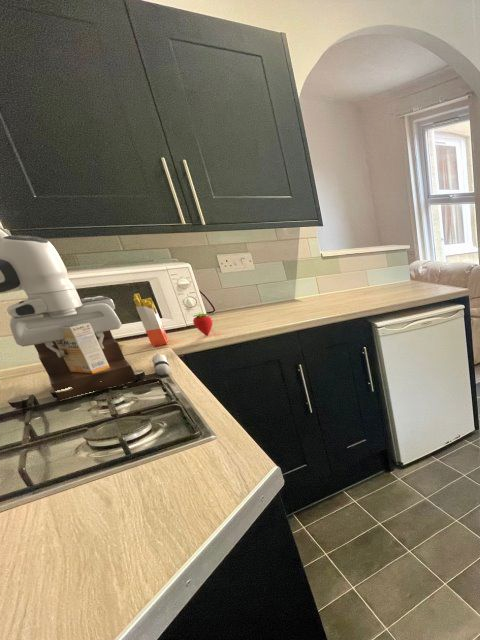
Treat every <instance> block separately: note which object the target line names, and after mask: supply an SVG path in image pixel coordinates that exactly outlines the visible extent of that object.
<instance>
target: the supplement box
mask: <svg viewBox="0 0 480 640" xmlns="http://www.w3.org/2000/svg"><path fill="white" fill-rule="evenodd" d="M61 330H62V332H63V335H64V337H65V339H62V340H57V341H55V342H56V344H57V346H58V348H59V350H60V349H63V350H64V353H65V354H66V356H65V357H63V358H64V360H65V362H66V364H67V365H68V367H69V369H70V371H71V372H81V373H92V374H93V373H96V372H99V371H102V370H105V369H108V368H110V366H109V364H108V362H107V360H106V358H105V356H104V354H103V351H102V349H101V347H100V345H99V343H98V340H97V338H96V336H95V334H94V332H93V329H92V327H91V325H90V323H83V324H75V325H68V326H63V327H61Z"/></svg>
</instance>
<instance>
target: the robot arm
mask: <svg viewBox="0 0 480 640" xmlns="http://www.w3.org/2000/svg"><path fill="white" fill-rule="evenodd" d="M18 291H24V293H25V294H26V296H27V298H26V299H24V300H21V301H18V302H16V303H14V304H11V305H9V306H8V307H7V308H6V312H7V313H8V316H10V319H9V327H10V331H11V334H12V337H13V339H14V342H15V343H16V345H18V346H20V347H23V348H24V347H29V346H34V345H35V344H41V343H45V345H46V347H48V348H49V349H51V350H53V351H54V352H56V353H57V355H58V357H59V358H61V357H65V356H66V354H65V353H64V350H63V349H60V350H58V349H57V348H55V347H53V345H54V344H53V342H52V341H57V340H62V339H65V337H64V335H63V332H62V330H61V327H63V326H68V325H75V324H83V323H90V325H91V327H92V329H93V332H94V333H96V335H97V337H99V339H98V343H99V345H100V347H101V349H104V346H103V344H102V342H103V338H104V334H103V332H104V331H110V332H111V331H114V330H115V331H116V330H119V329H121V328H122V322H121V320H120V318H119V317H118V315H117V313H116V311H115V310H116V305H115V303H114V301H113V299H111V298H110V297H108V296H104V295H97V296H92V297H91V296H89V297H80V296H79V293H78V291H77V289H76V287H75V285H74V284H73V283H72V282H71V280H70V278H69V277H68V270H67V266H66V265H65V263H64V262H63V260H62V258H61V256H60V254H59V252H58V251H57V249H56V248H55V246H54V245H53V244H52V242H50V241H49V240H48V239H46V238H43V237H41V236H35V235H19V234H17V235H16V234H15V235H12V234H11V233H10V232H9V231H7V230H6V229H4V228H3V227H2V226H1V225H0V295H2V294H3V295H4V294H8V293H11V292H12V293H13V292H18Z"/></svg>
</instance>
